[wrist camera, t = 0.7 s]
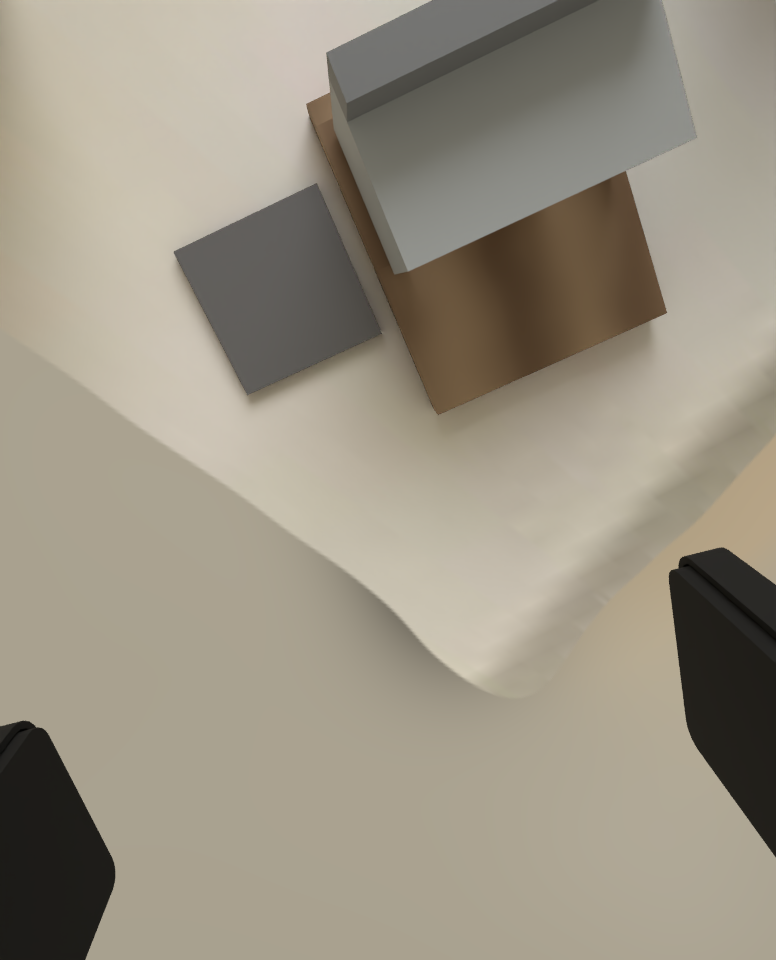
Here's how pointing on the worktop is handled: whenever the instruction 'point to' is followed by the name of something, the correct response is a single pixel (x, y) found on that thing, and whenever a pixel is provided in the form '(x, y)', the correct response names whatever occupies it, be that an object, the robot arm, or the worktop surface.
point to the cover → (500, 112)
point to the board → (512, 285)
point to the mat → (279, 289)
